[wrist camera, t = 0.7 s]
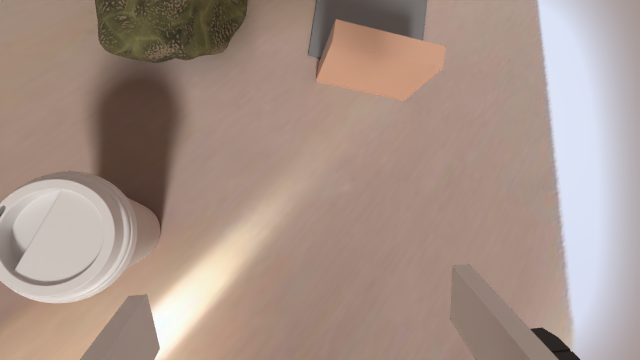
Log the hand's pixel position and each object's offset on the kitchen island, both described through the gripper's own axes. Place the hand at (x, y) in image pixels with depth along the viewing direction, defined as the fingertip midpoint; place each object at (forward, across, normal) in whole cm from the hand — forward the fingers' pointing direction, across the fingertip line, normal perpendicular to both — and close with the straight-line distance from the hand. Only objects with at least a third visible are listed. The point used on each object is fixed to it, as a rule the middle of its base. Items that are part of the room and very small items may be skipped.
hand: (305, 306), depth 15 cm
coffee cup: (+24, -19, -6) cm, 31 cm away
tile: (+34, +9, +8) cm, 36 cm away
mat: (+38, +11, +16) cm, 42 cm away
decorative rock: (+34, -13, +17) cm, 40 cm away
